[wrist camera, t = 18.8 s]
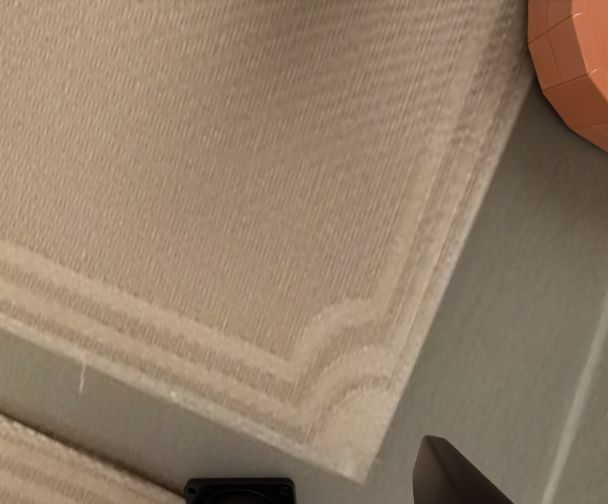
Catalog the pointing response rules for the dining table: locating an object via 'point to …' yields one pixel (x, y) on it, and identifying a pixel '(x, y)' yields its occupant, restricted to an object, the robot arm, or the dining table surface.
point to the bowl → (573, 62)
